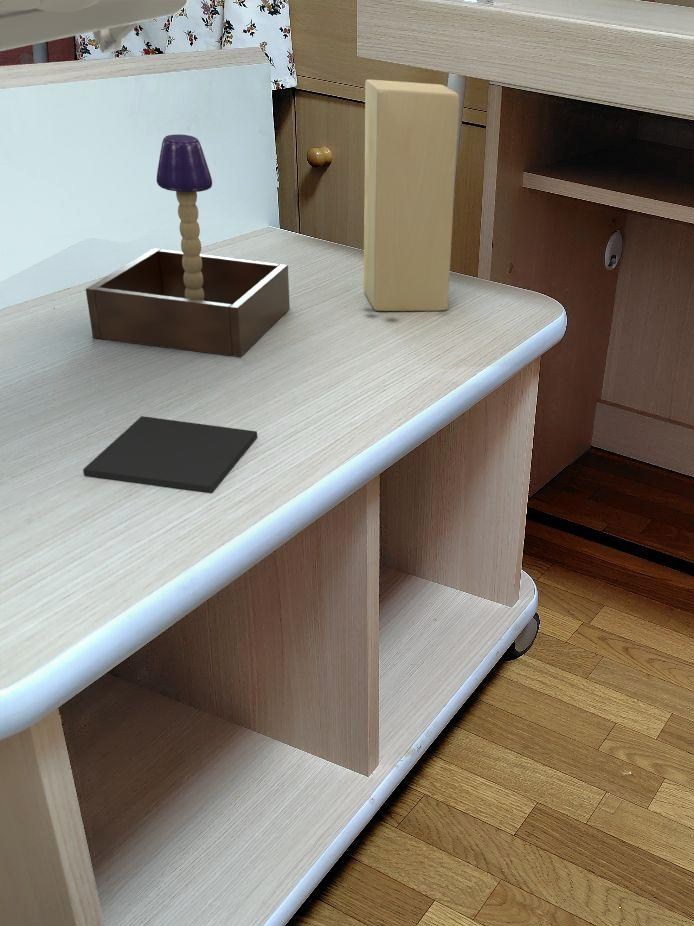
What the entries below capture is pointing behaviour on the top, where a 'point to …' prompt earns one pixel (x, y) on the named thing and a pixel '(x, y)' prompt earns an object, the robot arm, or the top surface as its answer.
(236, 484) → the top surface
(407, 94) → the tall wooden block
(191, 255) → the toy lamp
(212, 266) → the crate
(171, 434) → the pad
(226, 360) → the top surface
